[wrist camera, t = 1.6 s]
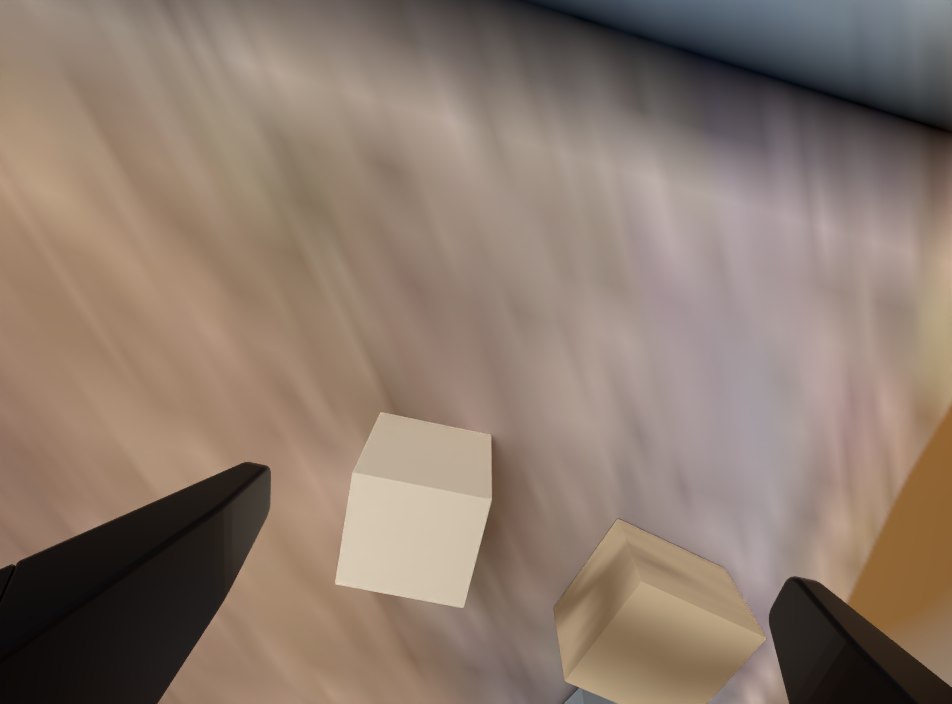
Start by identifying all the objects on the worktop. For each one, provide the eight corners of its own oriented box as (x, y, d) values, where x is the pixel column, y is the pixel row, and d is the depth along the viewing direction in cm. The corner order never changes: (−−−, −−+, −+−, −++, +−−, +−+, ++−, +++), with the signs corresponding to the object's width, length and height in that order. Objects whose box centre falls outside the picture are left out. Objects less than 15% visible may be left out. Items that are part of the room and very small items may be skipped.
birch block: (654, 652, 27) (682, 730, 23) (553, 607, 26) (564, 681, 22) (724, 568, 25) (766, 637, 21) (617, 518, 24) (641, 581, 20)
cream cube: (468, 525, 25) (463, 608, 20) (364, 505, 24) (334, 584, 20) (491, 433, 23) (492, 499, 18) (381, 411, 23) (352, 472, 18)
